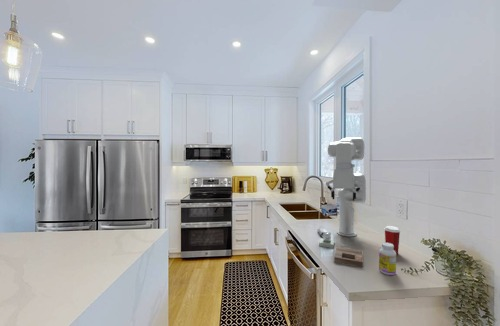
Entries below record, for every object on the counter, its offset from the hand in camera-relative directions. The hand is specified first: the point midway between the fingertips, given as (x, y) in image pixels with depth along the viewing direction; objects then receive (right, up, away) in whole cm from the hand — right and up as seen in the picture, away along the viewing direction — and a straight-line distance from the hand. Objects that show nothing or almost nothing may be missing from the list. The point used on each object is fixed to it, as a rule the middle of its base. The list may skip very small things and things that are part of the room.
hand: (343, 199), depth 114 cm
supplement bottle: (+15, -32, -12) cm, 37 cm away
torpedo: (+2, -31, +38) cm, 50 cm away
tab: (-1, -31, +21) cm, 37 cm away
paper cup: (+31, -31, +9) cm, 45 cm away
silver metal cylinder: (-1, -29, +21) cm, 36 cm away
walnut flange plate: (+4, -31, +2) cm, 31 cm away
